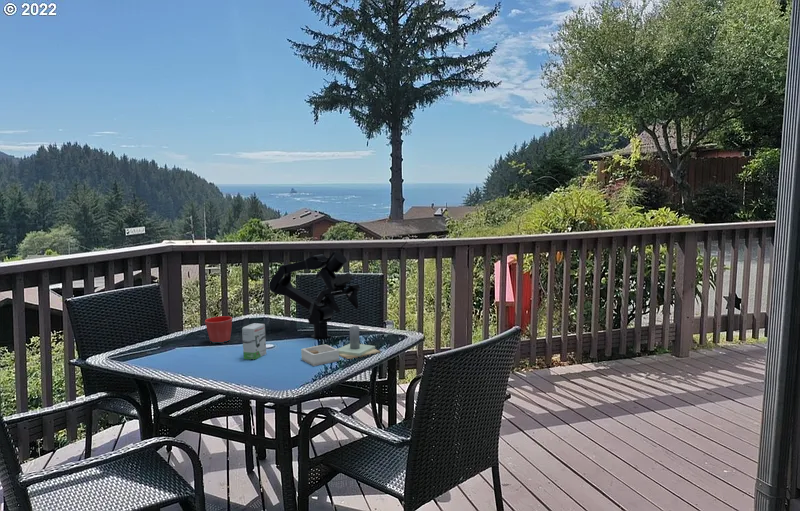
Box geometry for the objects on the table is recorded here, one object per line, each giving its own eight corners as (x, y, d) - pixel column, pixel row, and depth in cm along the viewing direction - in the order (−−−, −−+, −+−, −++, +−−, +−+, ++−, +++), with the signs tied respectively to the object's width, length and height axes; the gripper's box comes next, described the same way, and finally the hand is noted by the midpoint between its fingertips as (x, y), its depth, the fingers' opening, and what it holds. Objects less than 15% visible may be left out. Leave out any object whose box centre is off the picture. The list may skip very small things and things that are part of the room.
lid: (334, 352, 219) (333, 329, 218) (351, 345, 229) (350, 322, 228) (359, 356, 214) (358, 332, 213) (375, 348, 223) (374, 325, 222)
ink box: (254, 360, 215) (252, 328, 213) (242, 359, 216) (241, 328, 215) (267, 353, 223) (265, 323, 221) (255, 352, 224) (253, 322, 223)
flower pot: (200, 344, 239) (199, 320, 238) (218, 337, 249) (216, 315, 248) (221, 346, 235) (220, 322, 234) (239, 339, 245) (237, 316, 244)
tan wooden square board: (330, 351, 223) (329, 349, 223) (361, 345, 231) (361, 343, 231) (347, 359, 212) (347, 358, 212) (380, 352, 219) (380, 351, 219)
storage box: (301, 359, 214) (301, 348, 213) (326, 354, 219) (326, 344, 219) (313, 366, 205) (313, 355, 205) (339, 360, 211) (338, 350, 210)
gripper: (319, 269, 227) (338, 301, 220) (356, 264, 240) (375, 294, 233) (308, 287, 234) (326, 319, 227) (345, 281, 246) (363, 310, 240)
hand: (348, 310), depth 232 cm, fingers open, 9 cm apart
